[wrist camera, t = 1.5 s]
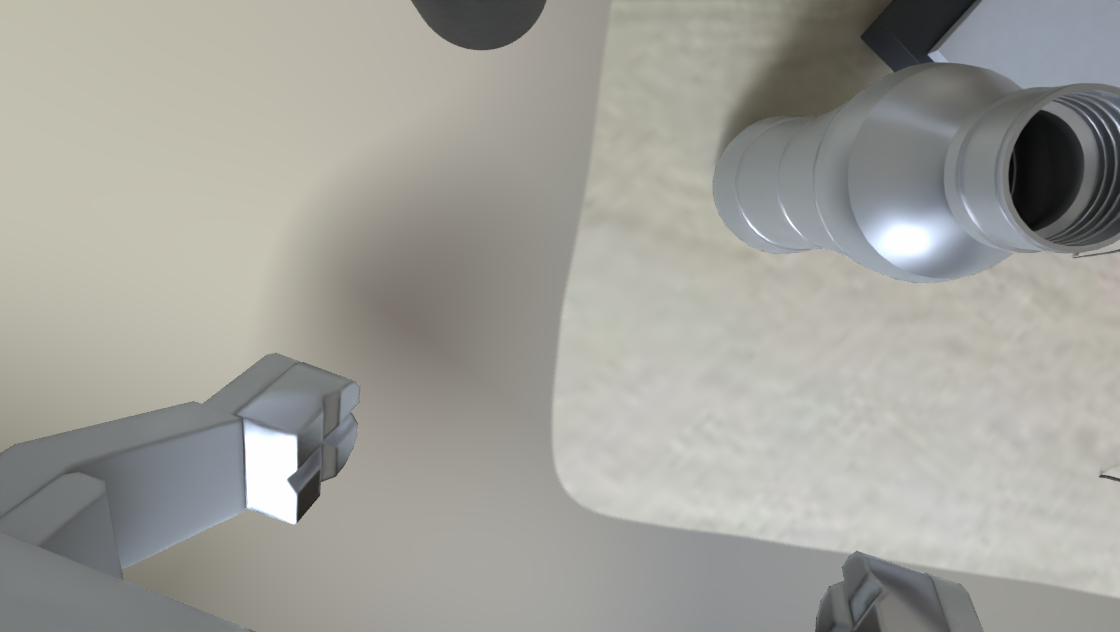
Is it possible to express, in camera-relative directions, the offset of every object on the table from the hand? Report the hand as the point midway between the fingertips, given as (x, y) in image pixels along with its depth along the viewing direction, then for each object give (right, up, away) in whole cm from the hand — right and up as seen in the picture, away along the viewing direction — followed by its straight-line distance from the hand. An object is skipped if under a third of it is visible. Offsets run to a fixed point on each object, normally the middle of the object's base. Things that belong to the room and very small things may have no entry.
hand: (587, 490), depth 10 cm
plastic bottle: (+10, +10, +23) cm, 27 cm away
